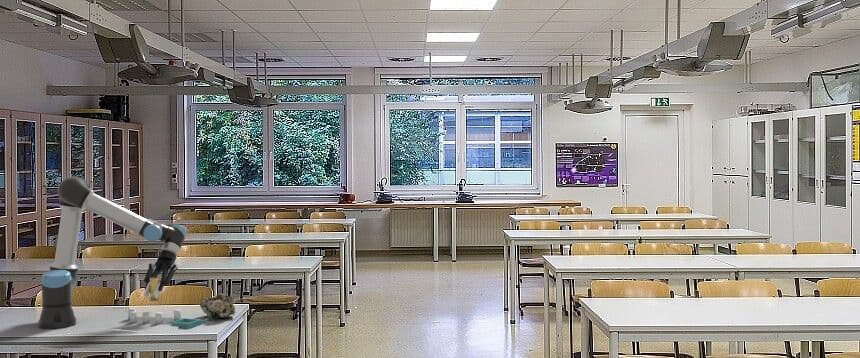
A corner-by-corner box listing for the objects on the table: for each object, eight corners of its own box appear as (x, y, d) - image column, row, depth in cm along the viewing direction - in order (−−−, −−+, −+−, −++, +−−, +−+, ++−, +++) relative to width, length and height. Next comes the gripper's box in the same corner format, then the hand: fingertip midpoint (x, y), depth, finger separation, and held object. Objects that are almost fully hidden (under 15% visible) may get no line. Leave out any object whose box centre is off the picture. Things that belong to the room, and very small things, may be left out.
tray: (171, 327, 359) (171, 322, 359) (184, 322, 368) (184, 318, 368) (188, 328, 356) (188, 323, 356) (201, 324, 364) (201, 319, 364)
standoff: (147, 300, 370) (147, 278, 370) (153, 299, 374) (153, 276, 373) (155, 301, 369) (155, 278, 368) (161, 299, 372) (161, 277, 372)
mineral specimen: (233, 313, 390) (233, 291, 389) (236, 320, 373) (236, 297, 373) (198, 315, 385) (198, 293, 385) (200, 322, 368) (200, 300, 368)
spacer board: (117, 324, 365) (117, 312, 365) (134, 318, 379) (134, 306, 378) (170, 326, 360) (170, 314, 360) (186, 320, 374) (185, 308, 374)
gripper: (188, 260, 384) (171, 302, 368) (154, 258, 387) (135, 300, 372) (183, 249, 379) (165, 292, 363) (148, 248, 382) (129, 290, 366)
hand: (150, 296), depth 367 cm, fingers closed on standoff, 4 cm apart
